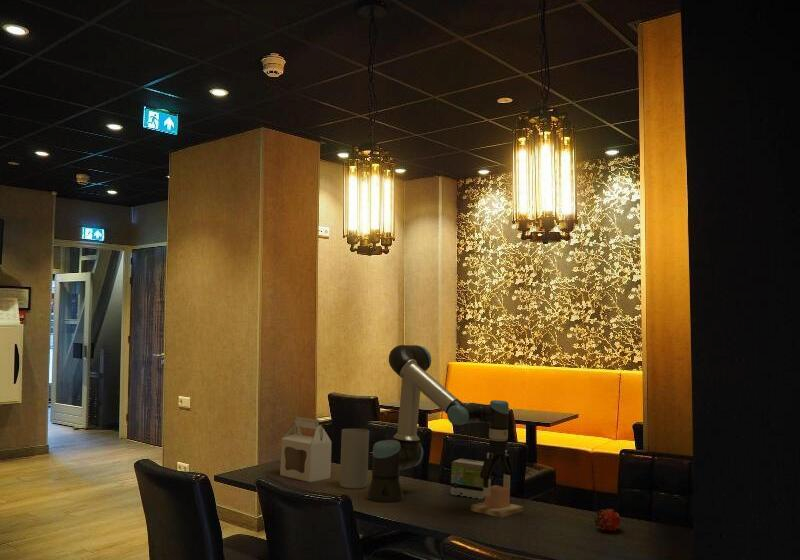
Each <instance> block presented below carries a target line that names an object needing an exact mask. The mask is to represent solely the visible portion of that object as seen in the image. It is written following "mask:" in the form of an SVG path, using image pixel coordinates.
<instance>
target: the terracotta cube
mask: <svg viewBox="0 0 800 560" xmlns="http://www.w3.org/2000/svg"><path fill="white" fill-rule="evenodd" d="M510 490H511V487H510V488H506V487H503V486H500V485H495V484H494V485H490V497H488V496H485V498H484V502H485V506H489V507H493V508H498V509H501V508H504V507H508V506H509V504H511V503H510V501H511V500H510V498H511V497H510V495H511V491H510Z"/></svg>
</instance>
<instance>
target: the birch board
mask: <svg viewBox="0 0 800 560" xmlns="http://www.w3.org/2000/svg"><path fill="white" fill-rule="evenodd" d="M524 509H525V506H523V505H518V504H513V503H510V504H509V506H508V507H504V508H501V509H498V508H493V507H489V506H485V501H482V502H480V503H479V502H477V503H474V504H471V505H470V511H472V512H476V513H479V514H484V515H489V516H492V517H493V516H494V517H497V518H502V519H503V518H504V519H505V518H507V517H510V515H511V516H514V515H517V514H516V513H518V514H520V513H519V512H521V513H523V512H522V511H524V512H525V510H524ZM513 514H514V515H513Z"/></svg>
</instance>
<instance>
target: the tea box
mask: <svg viewBox="0 0 800 560" xmlns="http://www.w3.org/2000/svg"><path fill="white" fill-rule="evenodd" d="M483 464H484V461H482V460H473V459H467V458H458V459H456V460H453V461H451V468H450V469H451V471H450V495H451V494H452V495H451V496H457V495H460V496H459V497H463V496H467V497H466V498H469V497H472V498H471V499H475V498H478V499H477V500H480V499H482V500H484V499H485V498H484V497H485V496H484V495H483V492H484V487H483V485H484V483H483V482H484V479H483V478H481V477H480V474H481V471H482V467H483ZM483 475H484V474H483ZM487 476H488V475H487ZM489 479H491V477H490V478H489ZM483 498H484V499H483Z"/></svg>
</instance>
